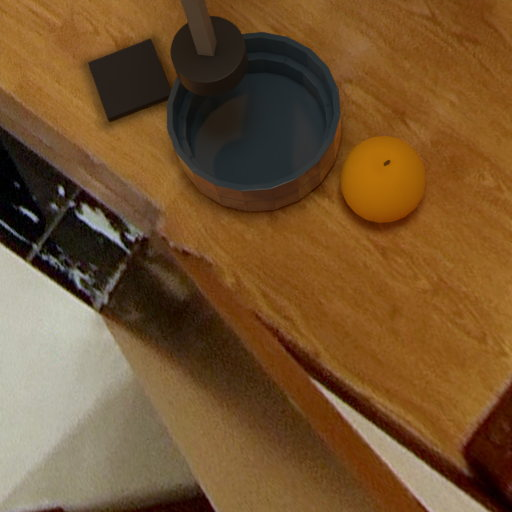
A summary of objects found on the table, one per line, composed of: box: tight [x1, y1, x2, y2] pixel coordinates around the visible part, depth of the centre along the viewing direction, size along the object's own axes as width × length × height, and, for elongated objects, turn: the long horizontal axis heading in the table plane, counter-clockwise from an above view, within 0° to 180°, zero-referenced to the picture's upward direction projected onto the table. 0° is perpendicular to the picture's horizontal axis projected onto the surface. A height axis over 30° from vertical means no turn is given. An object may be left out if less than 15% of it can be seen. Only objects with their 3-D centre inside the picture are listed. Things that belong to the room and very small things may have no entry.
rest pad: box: [87, 38, 172, 123], centre depth 88 cm, size 7×7×1 cm
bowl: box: [166, 31, 342, 212], centre depth 83 cm, size 16×16×6 cm
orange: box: [339, 135, 427, 224], centre depth 79 cm, size 8×8×8 cm
